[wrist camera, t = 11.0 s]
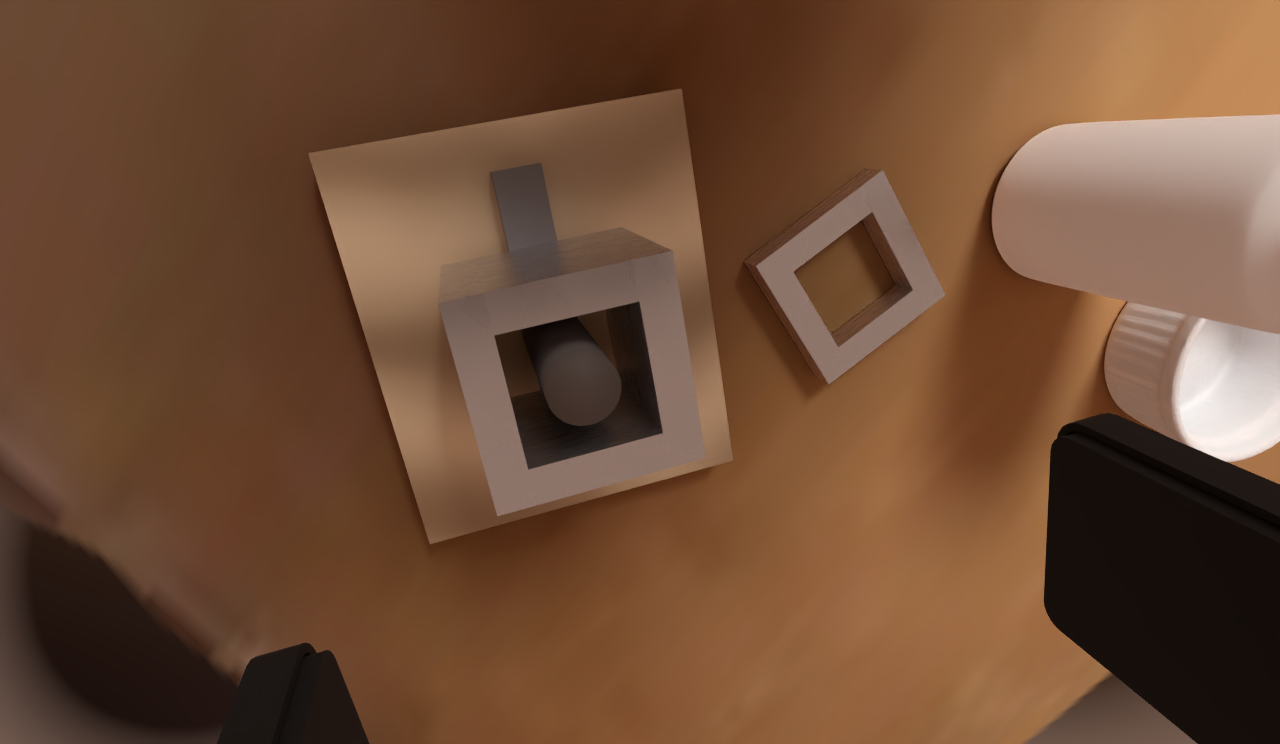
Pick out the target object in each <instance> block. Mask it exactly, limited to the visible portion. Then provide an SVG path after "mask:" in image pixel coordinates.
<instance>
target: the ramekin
mask: <svg viewBox="0 0 1280 744" xmlns="http://www.w3.org/2000/svg"><path fill="white" fill-rule="evenodd" d="M1104 372H1105V380H1106V384H1107V387H1108V390H1109V393H1110V395H1111V397H1112V399H1113V400H1114V402H1115V403H1116V404H1117V406H1118V407H1119V408H1120V409H1122V410H1123V411H1124V412H1125V413H1126V414H1128V415H1129V416H1131V417H1132V418H1134V419H1136V420H1137V421H1139V422H1141V423H1142V424H1144V425H1146V426H1148V427H1150V428H1152V429H1154V430H1156V431H1158V432H1160V433H1162V434H1164V435H1166V436H1168V437H1169V438H1171V439H1174V440H1176V441H1178V442H1181V443H1183V444H1186V445H1188V446H1190V447H1193V448H1195V449H1197V450H1200V451H1202V452H1204V453H1207V454H1209V455H1211V456H1214V457H1216V458H1218V459H1221V460H1223V461H1225V462H1235V461H1240V460H1244V459H1247V458H1250V457H1252V456H1255V455H1257V454H1259V453H1262V452H1263V451H1265V450H1267V449H1269V448H1271V447H1272V446H1274V445H1275V444H1276V443H1278V442H1279V441H1280V334H1275V333H1269V332H1264V331H1259V330H1254V329H1249V328H1245V327H1240V326H1236V325H1231V324H1226V323H1222V322H1217V321H1213V320H1208V319H1204V318H1199V317H1195V316H1190V315H1186V314H1181V313H1177V312H1172V311H1168V310H1163V309H1159V308H1155V307H1150V306H1146V305H1141V304H1137V303H1132V302H1127V304H1126V305H1125V307H1124V308H1123V309H1122V311H1121V313H1120V314H1119V316H1118V318H1117V320H1116V322H1115V324H1114V326H1113V328H1112V330H1111V333H1110V336H1109V339H1108V343H1107V347H1106V352H1105V360H1104Z"/></svg>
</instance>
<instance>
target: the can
mask: <svg viewBox="0 0 1280 744" xmlns="http://www.w3.org/2000/svg"><path fill="white" fill-rule="evenodd" d="M991 221H992V230H993V236H994V240H995V243H996V246H997V249H998V251H999V253H1000V255H1001V256H1002V258H1003V260H1004V261H1005V262H1006V263H1007V265H1008V266H1009V267H1010V268H1012V269H1013V270H1014V271H1015V272H1017V273H1018V274H1020V275H1022V276H1024V277H1027V278H1030V279H1033V280H1037V281H1041V282H1045V283H1050V284H1054V285H1058V286H1062V287H1067V288H1071V289H1075V290H1080V291H1084V292H1088V293H1093V294H1097V295H1102V296H1106V297H1110V298H1115V299H1119V300H1124V301H1128V302H1132V303H1137V304H1141V305H1146V306H1150V307H1155V308H1159V309H1163V310H1168V311H1172V312H1177V313H1181V314H1186V315H1190V316H1195V317H1199V318H1204V319H1208V320H1213V321H1217V322H1222V323H1226V324H1231V325H1236V326H1240V327H1245V328H1249V329H1254V330H1259V331H1264V332H1269V333H1275V334H1280V115H1254V116H1228V117H1203V118H1179V119H1155V120H1132V121H1110V122H1090V123H1074V124H1064V125H1059V126H1055V127H1052V128H1049V129H1047V130H1045V131H1043V132H1041V133H1039V134H1038V135H1036V136H1035V137H1033V138H1032V139H1030V140H1029V141H1028V142H1027V143H1026V144H1025V145H1024V146H1023V147H1022V148H1021V149H1020V150H1019V151H1018V152H1017V153H1016V154H1015V156H1014V157H1013V158H1012V160H1011V161H1010V162H1009V164H1008V165H1007V167H1006V168H1005V170H1004V172H1003V174H1002V176H1001V178H1000V180H999V182H998V185H997V187H996V190H995V194H994V198H993V203H992V212H991Z"/></svg>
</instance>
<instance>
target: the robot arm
mask: <svg viewBox="0 0 1280 744" xmlns="http://www.w3.org/2000/svg"><path fill="white" fill-rule="evenodd" d="M1044 605H1045V609H1046V612H1047V614H1048V616H1049V618H1050V620H1051V621H1052V622H1053V624H1054V625H1055V626H1056V627H1057V628H1058V629H1059V630H1060V631H1061V632H1062V633H1064V634H1065V635H1066V636H1067V637H1069V638H1070V639H1071V640H1072V641H1073V642H1075V643H1076V644H1077V645H1078V646H1080V647H1081V648H1082V649H1083V650H1084V651H1086V652H1087V653H1088V654H1089V655H1091V656H1092V657H1093V658H1094V659H1095V660H1097V661H1098V662H1099V663H1100V664H1101V665H1103V666H1104V667H1105V668H1106V669H1108V670H1109V671H1110V672H1111V673H1112V674H1114V675H1115V676H1116V677H1117V678H1119V679H1120V680H1121V681H1122V682H1123V683H1125V684H1126V685H1127V686H1128V687H1130V688H1131V689H1132V690H1133V691H1134V692H1136V693H1137V694H1138V695H1139V696H1141V697H1142V698H1143V699H1144V700H1145V701H1147V702H1148V703H1149V704H1150V705H1152V706H1153V707H1154V708H1155V709H1156V710H1158V711H1159V712H1160V713H1161V714H1162V715H1164V716H1165V717H1166V718H1167V719H1169V720H1170V721H1171V722H1172V723H1173V724H1175V725H1176V726H1177V727H1178V728H1180V729H1181V730H1182V731H1183V732H1184V733H1186V734H1187V735H1188V736H1189V737H1190V738H1192V739H1193V740H1194V741H1195V742H1196V743H1198V744H1280V485H1279V484H1277V483H1275V482H1272V481H1270V480H1268V479H1265V478H1263V477H1261V476H1258V475H1256V474H1254V473H1251V472H1249V471H1246V470H1244V469H1242V468H1239V467H1237V466H1235V465H1232V464H1230V463H1228V462H1225V461H1223V460H1221V459H1218V458H1216V457H1214V456H1211V455H1209V454H1207V453H1204V452H1202V451H1200V450H1197V449H1195V448H1193V447H1190V446H1188V445H1186V444H1183V443H1181V442H1178V441H1176V440H1174V439H1171V438H1169V437H1167V436H1164V435H1162V434H1160V433H1157V432H1155V431H1153V430H1150V429H1148V428H1146V427H1143V426H1141V425H1139V424H1136V423H1134V422H1132V421H1129V420H1127V419H1125V418H1122V417H1120V416H1118V415H1114V414H1110V413H1107V414H1100V415H1097V416H1093V417H1090V418H1086V419H1083V420H1079V421H1076V422H1072V423H1069V424H1067V425H1065V426H1063V427H1062V428H1061V430H1060V431H1059V433H1058V437H1057V439H1056V440H1055V441H1054V442H1053V444H1052V447H1051V455H1050V477H1049V499H1048V521H1047V543H1046V565H1045V587H1044ZM217 744H369V742H368V739H367V737H366V734H365V732H364V729H363V727H362V724H361V722H360V719H359V716H358V714H357V711H356V709H355V706H354V704H353V701H352V699H351V696H350V694H349V691H348V689H347V686H346V684H345V681H344V679H343V676H342V674H341V671H340V669H339V666H338V664H337V661H336V659H335V657H334V655H333V654H332V652H331V651H328V650H326V651H323V652H319V653H316V651H315V649H314V648H313V647H312V646H311V645H310V644H309V643H302V644H299V645H296V646H292V647H289V648H285V649H282V650H278V651H275V652H271V653H268V654H264V655H261V656H257V657H254V658H253V659H251V660H250V662H249V663H248V665H247V667H246V669H245V672H244V674H243V677H242V680H241V682H240V685H239V687H238V691H237V693H236V695H235V698H234V700H233V703H232V706H231V708H230V711H229V713H228V716H227V719H226V721H225V724H224V726H223V729H222V731H221V734H220V737H219V739H218V742H217Z"/></svg>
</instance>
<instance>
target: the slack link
mask: <svg viewBox="0 0 1280 744" xmlns="http://www.w3.org/2000/svg"><path fill="white" fill-rule="evenodd" d="M861 220H862V222H863V224H864V226H865V227H866V229H867V231H868V233H869V235H870V237H871V239H872V241H873V243H874V244H875V246H876V248H877V250H878V252H879V254H880V256H881V258H882V259H883V261H884V263H885V265H886V267H887V269H888V271H889V273H890V275H891V276H892V278H893V280H894V282H895V284H896V285H895V286H894V287H893V288H891V289H890V290H889V291H887V292H886V293H885V294H883V295H882V296H881V297H880V298H878V299H877V300H876V301H874V302H873V303H872V304H870V305H869V306H868V307H866V308H865V309H864V310H862V311H861V312H860V313H859V314H857V315H856V316H855V317H853V318H852V319H851V320H849V321H848V322H847V323H845V324H844V325H843V326H842V327H840V328H839V329H838V330H836V331H835V332H834V333H832V334H830V333H829V331H828V329H827V328H826V326H825V324H824V323H823V321H822V319H821V318H820V316H819V314H818V313H817V311H816V309H815V308H814V306H813V304H812V303H811V301H810V299H809V298H808V296H807V294H806V292H805V291H804V289H803V287H802V286H801V284H800V282H799V281H798V279H797V277H796V276H795V274H794V271H795V270H796V269H798V268H799V267H800V266H802V265H803V264H804V263H806V262H807V261H808V260H810V259H811V258H812V257H813V256H815V255H816V254H817V253H819V252H820V251H821V250H823V249H824V248H825V247H827V246H828V245H829V244H831V243H832V242H833V241H834V240H836V239H837V238H838V237H840V236H841V235H842V234H844V233H845V232H846V231H848V230H849V229H850V228H852V227H853V226H854V225H856V224H857V223H858V222H859V221H861ZM744 263H745V264H746V266H747V267H748V269H749V271H750V272H751V274H752V276H753V277H754V279H755V280H756V282H757V284H758V285H759V287H760V288H761V290H762V292H763V293H764V295H765V296H766V298H767V300H768V301H769V303H770V304H771V306H772V308H773V309H774V311H775V312H776V314H777V316H778V317H779V319H780V320H781V322H782V324H783V325H784V327H785V328H786V330H787V332H788V333H789V335H790V336H791V338H792V340H793V341H794V343H795V344H796V346H797V348H798V349H799V351H800V352H801V354H802V356H803V357H804V359H805V360H806V362H807V364H808V365H809V367H810V368H811V370H812V372H813V373H814V375H815V376H816V377H818V378H819V379H821V380H823V381H824V382H826V383H827V384H830V383H832V382H833V381H834V380H835V379H837V378H838V377H839V376H841V375H842V374H843V373H845V372H846V371H847V370H849V369H850V368H851V367H852V366H854V365H855V364H856V363H858V362H859V361H860V360H862V359H863V358H864V357H866V356H867V355H868V354H869V353H871V352H872V351H873V350H875V349H876V348H877V347H879V346H880V345H881V344H882V343H884V342H885V341H886V340H888V339H889V338H890V337H892V336H893V335H894V334H896V333H897V332H898V331H899V330H901V329H902V328H903V327H905V326H906V325H907V324H909V323H910V322H911V321H913V320H914V319H915V318H916V317H918V316H919V315H920V314H922V313H923V312H924V311H926V310H927V309H928V308H929V307H931V306H932V305H933V304H935V303H936V302H937V301H939V300H940V299H941V298H943V297H944V296H945V293H944V291H943V289H942V287H941V285H940V283H939V281H938V279H937V277H936V275H935V273H934V271H933V269H932V267H931V265H930V263H929V261H928V259H927V257H926V255H925V253H924V251H923V249H922V247H921V245H920V243H919V241H918V239H917V237H916V235H915V233H914V231H913V229H912V227H911V225H910V223H909V221H908V219H907V217H906V215H905V213H904V211H903V209H902V207H901V205H900V203H899V201H898V199H897V197H896V195H895V193H894V191H893V189H892V187H891V185H890V183H889V181H888V179H887V177H886V175H885V173H884V171H883V170H876V169H865V170H864V171H862V172H861V173H860V174H858V175H857V176H856V177H854V178H853V179H852V180H850V181H849V182H848V183H847V184H845V185H844V186H843V187H841V188H840V189H839V190H837V191H836V192H835V193H833V194H832V195H831V196H829V197H828V198H827V199H825V200H824V201H823V202H822V203H820V204H819V205H818V206H816V207H815V208H814V209H812V210H811V211H810V212H808V213H807V214H806V215H804V216H803V217H802V218H800V219H799V220H798V221H796V222H795V223H794V224H793V225H791V226H790V227H789V228H787V229H786V230H785V231H783V232H782V233H781V234H779V235H778V236H777V237H775V238H774V239H773V240H771V241H770V242H769V243H767V244H766V245H765V246H764V247H762V248H761V249H760V250H758V251H757V252H756V253H754V254H753V255H752V256H750V257H749V258H748V259H746V260H745V261H744Z"/></svg>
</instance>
